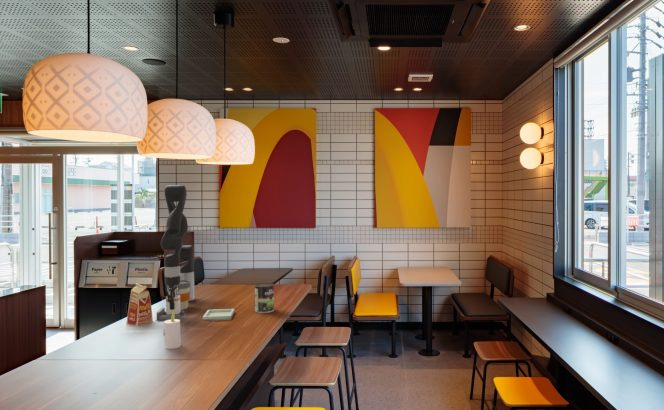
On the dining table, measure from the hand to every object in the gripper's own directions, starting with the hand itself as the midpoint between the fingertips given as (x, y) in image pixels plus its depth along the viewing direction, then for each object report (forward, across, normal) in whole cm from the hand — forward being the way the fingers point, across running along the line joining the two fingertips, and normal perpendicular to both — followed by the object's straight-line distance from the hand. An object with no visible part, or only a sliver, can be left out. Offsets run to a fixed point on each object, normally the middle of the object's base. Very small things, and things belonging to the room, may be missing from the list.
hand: (173, 308), depth 220 cm
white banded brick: (+3, 0, 0) cm, 3 cm away
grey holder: (+5, 0, -1) cm, 5 cm away
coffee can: (+6, -8, +46) cm, 47 cm away
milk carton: (+6, +7, -14) cm, 17 cm away
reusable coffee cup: (+6, -19, -2) cm, 20 cm away
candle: (+5, +43, +11) cm, 45 cm away
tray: (+5, 0, +23) cm, 24 cm away
